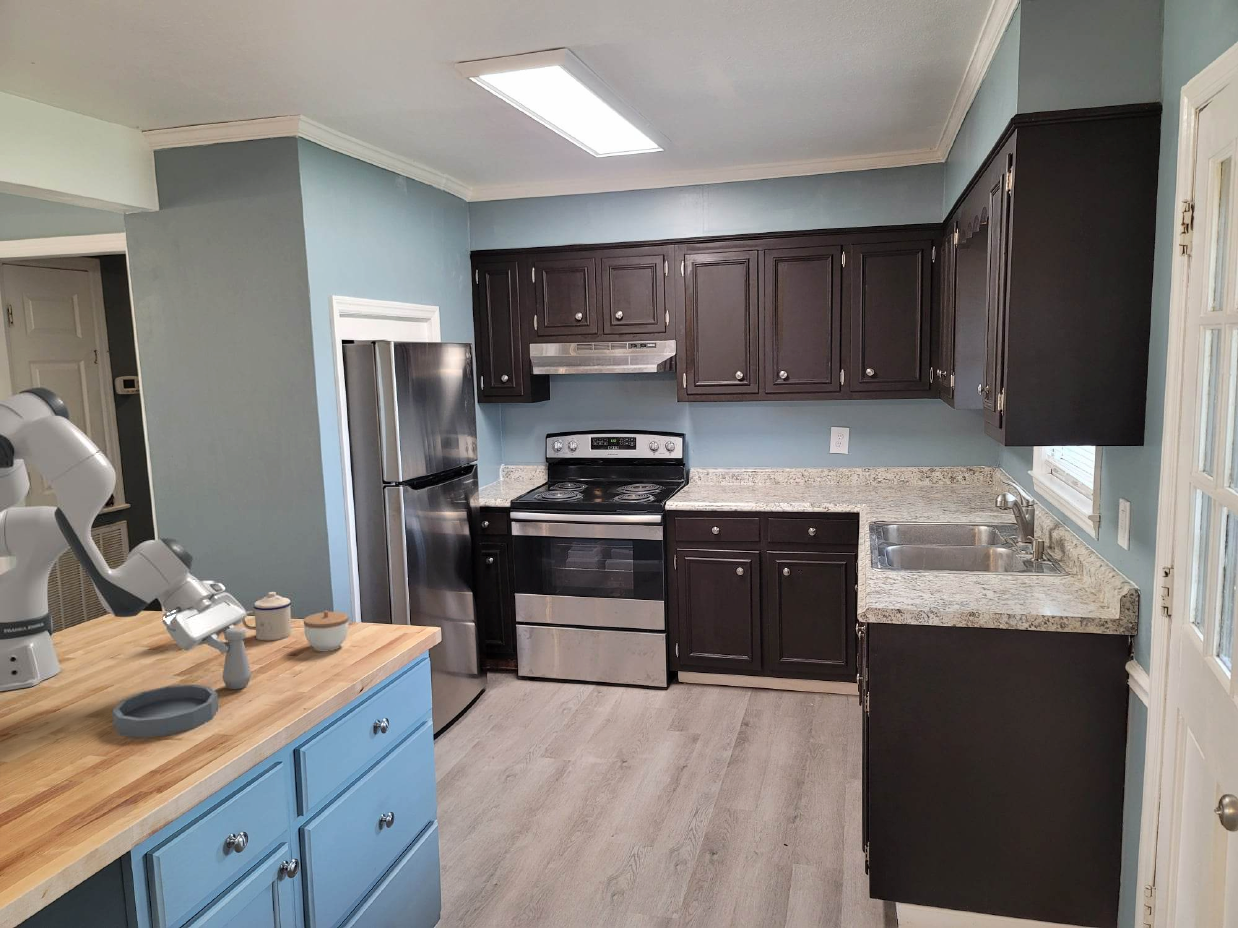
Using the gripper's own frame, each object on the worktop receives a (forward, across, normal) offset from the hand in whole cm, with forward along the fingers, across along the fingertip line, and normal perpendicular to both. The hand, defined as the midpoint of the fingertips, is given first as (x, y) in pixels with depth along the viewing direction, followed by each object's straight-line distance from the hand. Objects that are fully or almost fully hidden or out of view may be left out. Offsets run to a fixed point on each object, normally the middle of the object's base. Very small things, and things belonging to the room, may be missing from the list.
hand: (233, 647), depth 188 cm
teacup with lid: (-2, +34, +15) cm, 37 cm away
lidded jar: (+12, +28, +1) cm, 30 cm away
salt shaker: (+7, 0, +6) cm, 9 cm away
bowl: (+4, -18, +9) cm, 20 cm away
